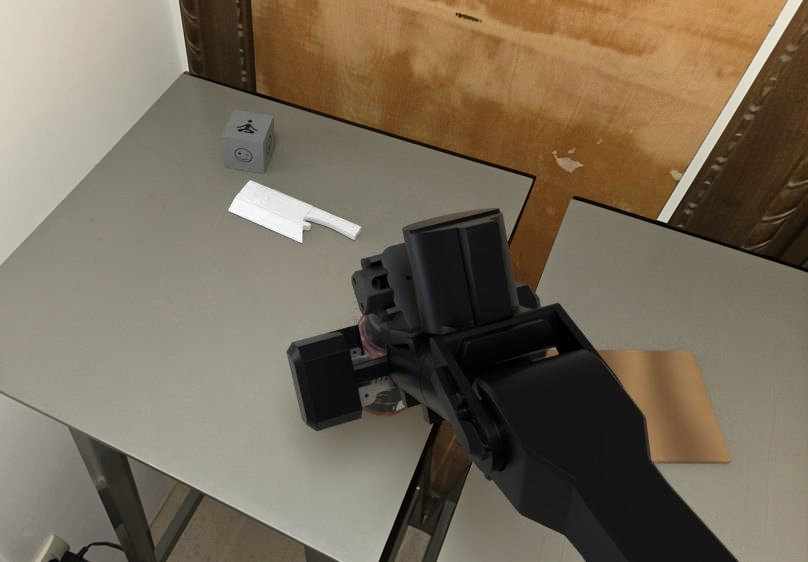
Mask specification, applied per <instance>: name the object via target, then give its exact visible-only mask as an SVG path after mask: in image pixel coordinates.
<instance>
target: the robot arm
mask: <svg viewBox="0 0 808 562" xmlns="http://www.w3.org/2000/svg"><path fill="white" fill-rule="evenodd" d="M401 230H402V234H403V241H404V242H402V243H397V244H393V245H390V246H388V247H386V248H385V249H384V250H383V252H382V253H379V254H375V255H372V256H366V257H363V258H361V259H360V266H361V269H359V270H355V271H354V272H353V273H352V275H351V277H350V279H351V286H352V289H353V293H354V295H355V299H356V301H357V302H356V303H357V306H358V309H359V311H360V313H361V314H362V315H364V316H365V315H369V314H375V315H376V316H377V318H378V321H379V322H380V323H384V322H386V323H385V324H381V325H379V326H380V331H381V336H382V340H383V343H384V345H385V350H386V351H387V355H385V356H382V357H378V358H375V359H371V360H369V358H368V355H367V354H365V353H364V349H363V345H362V340H361V335H360V331H359V326H358V325H356V324H354V325H350V326H348V327H343V328H339V329H335V330H332V331H327V332H325V333H321V334H318V335H317V334H316V335H314V336H310V337H307V338H303V339H298V340H295V341H292V342H291V343H290V345H289V346H288V348H287V349H286V351H285V352H286V357H287V360H288V365H289V369H290V374H291V378H292V381H293V388H294V392H295V396H296V399H297V405H298V409H299V413H300V417H301V421H303V422H304V424H305V425H306V426H307V427H309V428H311V429H312V430H314V431H316V432H319V431H320V432H321V431H323V430H326V429H330V428H333V427H336V426H340V425H343V424H346V423H350V422H354V421H356V420H361V419H363V412H364V410H363V408H362V407H364V406H367V405H370V404H372V403H374V402H375V401H374V400H375V398H376V395H377V393H379V392H382V391H386V390H389V389H393V388H396V387H399V389H400V394H401V398H402V403H403V405H404V406H406V407H407V408H406V409H410V408H413V407H416V406H419V405H420V407H421V411H422V416H423V421H424V422H426V423H427V424H428V425H430V426H431V425H433V424H437V423H440V422H443V421H444V422H445V421H447V422H448V423H449V424H451V427H452V429H453V431H454V434H455V436H456V438H457V440H458V442H459V444H460V447H461V449H462V451H463V452H464V453H465V454H466V455H467V457H468V459H469V461H470V462H473V464H474V465H475V467H476V468H477V469H478V470H479V471H480V472H481V473H483V476H484V478H485V479H486V480H487V482H488V481H489V482H490V481H493V483H494V484H495V486H497V488H498V489H499V490H500V492H501V493H502V495H504V497H505V498H506V500H508V502H509V503H510V504H511V505H512V507H513V508H514V509H515V511H516V512H517V513H518V514H519V515H521V516H522V517H524V518H525V519H526V518H527V519H528V520H530V521H532V522H535V523H537V524H539V525H541V526H543V527H546V528H548V529H550V530H552V531H554V532H556V533H559V534H560V535H562V536H564V537H565V538H566V540H568V541H569V543H570V544H571V545H572V546H573V547H574V549H576V551H577V553H578V554H579V555H580V557H581V558H582V559H583V560H584V562H740V561H739V559H738V558H737V557H736V556H735V555H734V554H733V553H732V551H730V549H729V548H728V547H727V546H726V545H725V544H724V543H723V542H722V541H721V539H720V538H719V537H718V536H717V535H716V534H715V532H713V530H712V529H711V528H710V527H709V526H708V525H707V524H706V522H704V520H703V519H702V518H701V517H700V516H699V515H698V514H697V513H696V512H695V511H694V509H693V508H692V507H691V506H690V505H689V504H688V503H687V502H686V501H685V499H684V498H683V497H682V496H681V495H680V494H679V493H678V491H676V490H675V488H674V487H673V486H672V485H671V484H670V482H669V481H668V480H667V479H666V477H665V476H664V475H663V473H662V472H661V471H660V469H659V468H658V467H657V465H656V463H653V461H652V460H651V454H650V445H649V437H648V429H647V421H646V417H645V415H644V414H643V412H642V411H641V410H640V408H639V407H638V406H637V404H636V403H635V402H634V400H633V399H632V398H631V397H630V395H629V394H628V393H627V391H626V390H625V389H624V387H623V385H622V383H621V382H620V380H619V379H618V377H617V376H616V375H615V373H614V372H613V371H612V369H611V368H610V367H609V366H608V364H607V363H606V362H605V361H604V359H603V358H602V357H601V356H600V354H599V353H598V352H597V350H598V349H596V348H595V347H594V345H593V344H592V343H591V341H590V340H589V338H587V336H586V335H585V334H584V333H583V331H582V330H581V329H580V328H579V326H578V325H577V324H576V322H575V321H574V319H573V318H572V317H571V316H570V315H569V313H568V312H567V311H566V310H565V308H564V307H563V306H562V305H561V303H559V302H555V303H551V304H548V305H544V306H542V305H541V298H540V297H539V295H538V294H537V292H536V290H535V289H534V288H532V287H531V286H530V285H528V284H526V283H521V282H516V279H515V274H514V269H513V263H512V257H511V252H510V246H509V241H508V235H507V229H506V223H505V219H504V213H503V212H502V211H501V209H500V207H487V208H479V209H472V210H465V211H464V210H463V211H460V212H459V211H458V212H454V213H449V214H445V215H439V216H436V217H431V218H427V219H423V220H420V221H416V222H413V223H411V224H408V225H405V226H403V227H402V228H401ZM552 349H555V350H557V351H558V353H559V354H557V355H554V356H550V357H547V358H545V357H546V355H547V352H548V350H552ZM389 375H390V376H391V378H390V376H389ZM384 376H386V379H385V378H384ZM380 377H381V381H380V379H379V378H380ZM373 379H376V382H375V381H374V380H373ZM370 381H371V382H370Z"/></svg>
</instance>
